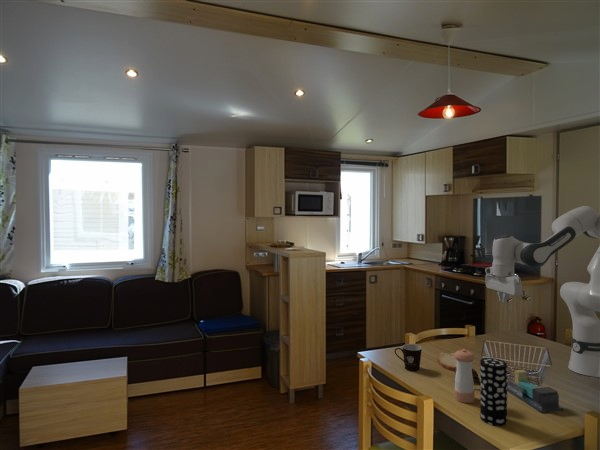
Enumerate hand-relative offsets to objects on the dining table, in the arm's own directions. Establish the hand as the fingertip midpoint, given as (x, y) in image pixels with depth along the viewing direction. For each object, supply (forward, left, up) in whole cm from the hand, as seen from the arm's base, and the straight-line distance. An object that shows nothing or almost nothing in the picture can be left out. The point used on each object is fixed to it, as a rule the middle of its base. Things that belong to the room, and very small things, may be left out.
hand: (503, 301), depth 178 cm
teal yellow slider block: (+8, +27, -30) cm, 41 cm away
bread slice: (+17, -13, -32) cm, 38 cm away
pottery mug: (+23, +8, -31) cm, 40 cm away
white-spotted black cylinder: (+32, +38, -31) cm, 59 cm away
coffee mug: (+40, -11, -31) cm, 52 cm away
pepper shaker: (+33, +22, -31) cm, 51 cm away
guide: (+8, +25, -31) cm, 41 cm away
